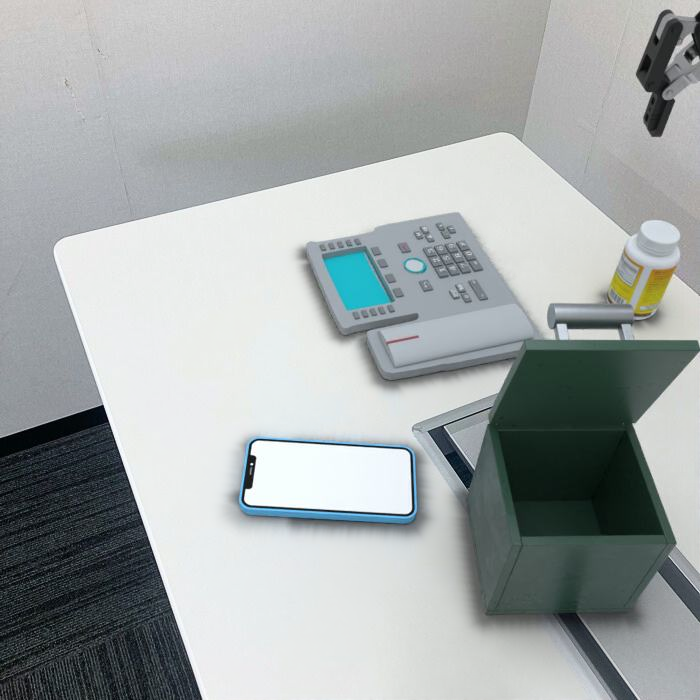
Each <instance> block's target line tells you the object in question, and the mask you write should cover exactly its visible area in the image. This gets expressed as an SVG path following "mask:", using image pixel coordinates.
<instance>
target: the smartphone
mask: <svg viewBox="0 0 700 700" xmlns="http://www.w3.org/2000/svg"><path fill="white" fill-rule="evenodd" d="M242 470H243V471H242V476H241V484H240V490H239V497H238V503H239V508H240V510H241V511H242V512H243V513H244V514H246V515H251V516H266V517H283V518H284V517H285V518H299V519H300V518H301V519H317V520H318V519H320V520H335V521H352V522H367V523H387V524H409V523H411V522H412V521H414V520H415V518H416V515H417V510H418V501H417V498H418V497H417V476H416V474H417V473H416V454H415V452H414V450H412V449H411V448H410V447H409V446H407V445H396V444H381V443H363V442H349V441H348V442H347V441H334V440H333V441H332V440H315V439H300V438H299V439H298V438H284V437H283V438H282V437H267V436H266V437H265V436H255V437H253V438H251V439H250V440H248V442H247V444H246V450H245V457H244V465H243V469H242Z"/></svg>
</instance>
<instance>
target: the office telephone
mask: <svg viewBox="0 0 700 700" xmlns="http://www.w3.org/2000/svg"><path fill="white" fill-rule="evenodd" d="M305 254H306V257H307V260H308V263H309V265H310V267H311V270H312V272H313V274H314V277H315V279H316V282H317V284H318V286H319V289H320V291H321V293H322V296H323V298H324V301H325V303H326V305H327V307H328V310H329V313H330V314H331V317H332V319H333V321H334V323H335V324H336V327H337V329H338V330H339V332H340V334H341V335H343V336H348V335H350V334H354V333H357V332H362V331H367V330H368V331H367V332H366V339H365V340H366V345H367V347H368V350H369V352H370V355H371V357H372V359H373V361H374V363H375V365H376V368H377V370H378V373H379V375H380V376H381V377H382V378H383V379H384V380H389V381H393V380H394V381H395V380H400V379H401V380H402V379H407V378H413V377H418V376H425V375H429V374H434V373H438V372H441V371H444V372H446V371H448V372H449V371H453V370H458V369H464V368H468V367H469V368H470V367H473V366H479V365H483V364H489V363H494V362H499V361H503V360H509V359H515V358H516V356H517V354H518V352H519V350H520V348H521V346H522V344H523V342H524V340H545V339H544V338H543V336H542V335H541V333H540V332H539V330H538V328H537V327H536V325H535V324H534V322H533V321H532V320H531V318H530V316H529V315H528V314H527V312H526V311H525V309H524V307H522V305H521V303H520V302H519V301H518V299H517V298H516V296H515V295H514V293H513V292H512V290H511V288H509V285H508V284H507V283H506V281H505V280H504V278H503V277H502V275H501V274H500V272H499V271H498V269H497V268H496V266H495V265H494V263H493V262H492V261H491V259H490V258H489V256H488V254H486V252H485V250H484V249H483V247H482V246H481V244H480V243H479V242H478V240H477V239H476V237H475V236H474V234H473V231H472V230H471V228H470V226H469V224H468V223H467V221H466V220H465V218H464V217H463V216H462V215H461V213H460V212H457V211H455V212H454V211H453V212H447V213H442V214H436V215H430V216H426V217H420V218H415V219H414V218H413V219H408V220H402V221H397V222H392V223H386V224H383V225H378V226H377V227H374V229H373V231H370V232H365V233H360V234H355V235H350V236H345V237H339V238H333V239H327V240H320V241H313V240H311V241H308V242H306V244H305Z"/></svg>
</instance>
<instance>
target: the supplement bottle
mask: <svg viewBox="0 0 700 700" xmlns="http://www.w3.org/2000/svg"><path fill="white" fill-rule="evenodd" d="M680 240H681V232H680V231H679V229H678V228H677V227H676V226H675V225H674V224H672V223H670V222H667V221H665V220H659V219H650V220H646V221H644V222H643V223H641V225H640V227H639V230H638V231H637V233H635V234H633V235H631V236H629V238H628V239H627V240H626V242H625V245H624V246H623V250H622V252H621V254H620V257H619V260H618V262H617V266H616V268H615V270H614V271H615V272H614V274H613V276H612V279H611V282H610V285H609V287H608V289H607V292H606V303H607V304H631V305H632V307H633V310H634V321H636V320H638V321H639V320H641V321H642V320H646V319H648V318H651V317H653V316H654V314H656V312H657V311H658V309H659V306H660V305H661V302H662V299H663V297H664V295H665V293H666V290H667V289H668V286H669V284H670V282H671V279H672V278H673V275H674V273H675V271H676V268H677V266H678V264H679V262H680V259H681V250H680V248H679V246H678V244H679V241H680Z"/></svg>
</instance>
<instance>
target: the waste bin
mask: <svg viewBox="0 0 700 700" xmlns="http://www.w3.org/2000/svg"><path fill="white" fill-rule="evenodd" d="M468 488H469V489H468V492H467V496H466V499H465V500H466V506H467V513H468V519H469V525H470V530H471V537H472V543H473V550H474V555H475V561H476V566H477V567H476V568H477V572H478V579H479V584H480V591H481V592H480V593H481V597H482V602H483V608H484V609H483V610H484V614H485V615H533V614H534V615H535V614H538V615H540V614H542V615H543V614H545V615H546V614H591V613H592V614H594V613H595V614H596V613H597V614H601V613H629V612H630V611H631V609H632V608H633V607H634V605H635V604H636V602H637V601H638V600H639V598H640V597H641V595H642V594H643V593H644V591H645V589H646V588H647V587H648V586H649V584H650V582H651V581H652V580H653V578H654V577H655V576H656V574H657V573H658V571H659V570H660V568H661V567H662V565H664V563H665V561H666V560H667V558H668V557H669V556H670V554H671V553H672V552H673V550H674V549H675V547H676V546H677V544H678V542H677V539H676V536H675V534H674V531H673V529H672V525H671V523H670V521H669V518H668V515H667V513H666V510H665V507H664V504H663V501H662V499H661V496H660V494H659V491H658V488H657V485H656V483H655V480H654V478H653V475H652V472H651V469H650V466H649V464H648V461H647V459H646V456H645V454H644V451H643V447H642V446H641V443H640V440H639V438H638V435H637V432H636V429H635V427H634V423H630V424H489V423H487V425H486V428H485V432H484V434H483V439H482V443H481V446H480V449H479V453H478V456H477V460H476V464H475V467H474V471H473V475H472V478H471V481H470V484H469V487H468Z"/></svg>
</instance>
